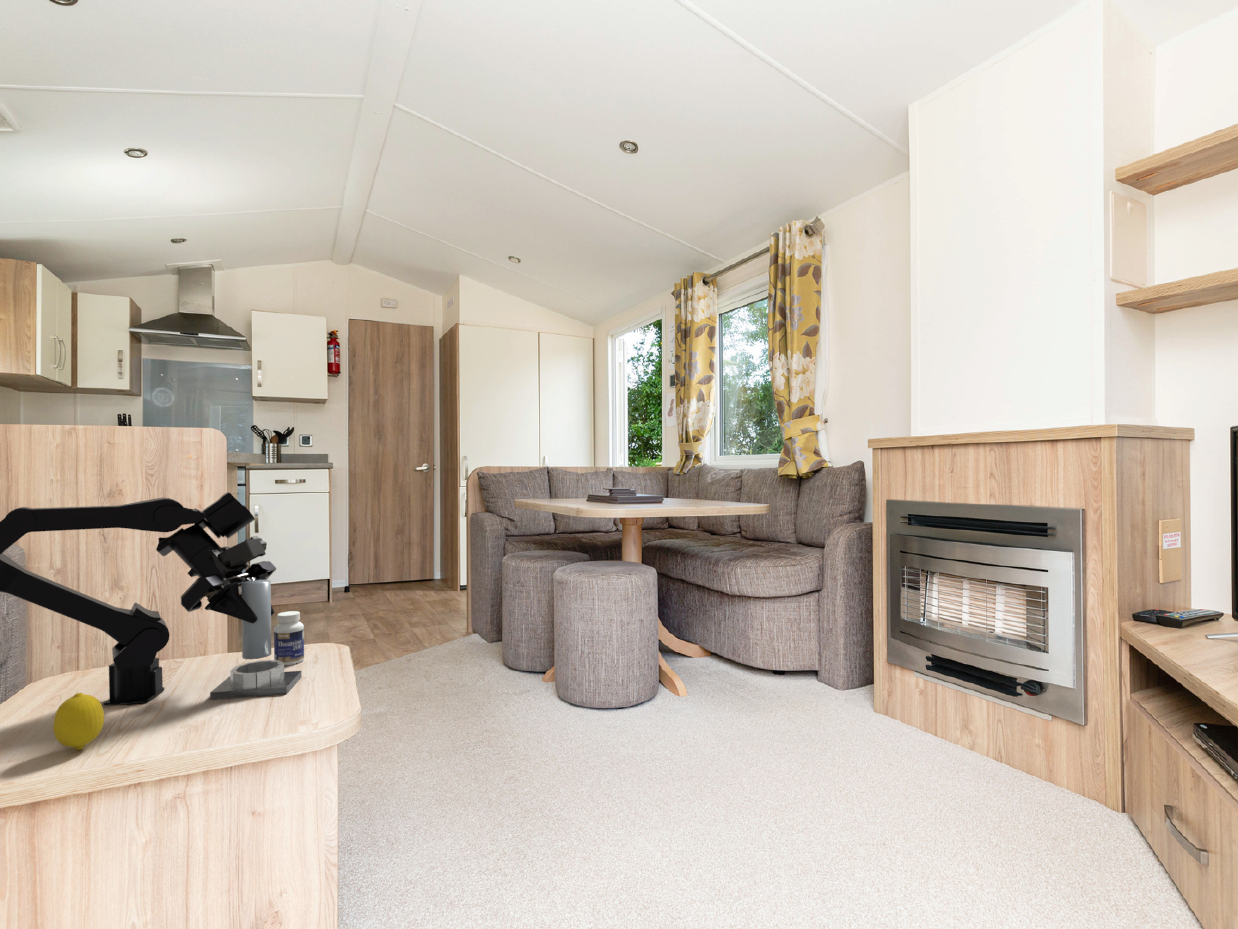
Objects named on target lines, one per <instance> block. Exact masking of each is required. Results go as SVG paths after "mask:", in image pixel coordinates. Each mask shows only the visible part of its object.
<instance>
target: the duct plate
mask: <svg viewBox="0 0 1238 929" xmlns="http://www.w3.org/2000/svg"><path fill="white" fill-rule="evenodd" d="M229 674H230V675H229V676H228V677H227V678H226V679H225V680H223V681H222V682H221V683H219V684H218V685H217V686H216V687H215V688H214V689H212V690H211V691H210V692H209V697H210V698H209V699H210V700H221V699H222V700H224V699H236V698H237V699H238V698H250V697H265V696H277V695H279V696H280V695H287V694H288V693H289V692H290V691H291V690H292V689H293V688H294V686H295V685H296V684H297V683H298V682H299V680H301V678H302V670H293V671H292V670H291V671H290V670H289V671H285V665H284V663H283V662H282V661H278V660H274V659H263V660H254V661H248V662H245V663H242V664H239V665H235V666H234V667H233V668H232V669H231V670H230V673H229Z"/></svg>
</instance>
